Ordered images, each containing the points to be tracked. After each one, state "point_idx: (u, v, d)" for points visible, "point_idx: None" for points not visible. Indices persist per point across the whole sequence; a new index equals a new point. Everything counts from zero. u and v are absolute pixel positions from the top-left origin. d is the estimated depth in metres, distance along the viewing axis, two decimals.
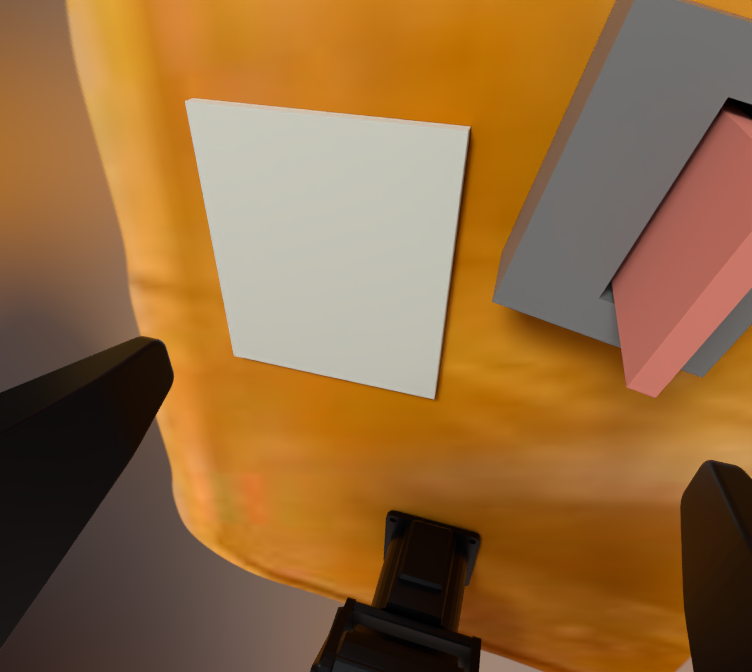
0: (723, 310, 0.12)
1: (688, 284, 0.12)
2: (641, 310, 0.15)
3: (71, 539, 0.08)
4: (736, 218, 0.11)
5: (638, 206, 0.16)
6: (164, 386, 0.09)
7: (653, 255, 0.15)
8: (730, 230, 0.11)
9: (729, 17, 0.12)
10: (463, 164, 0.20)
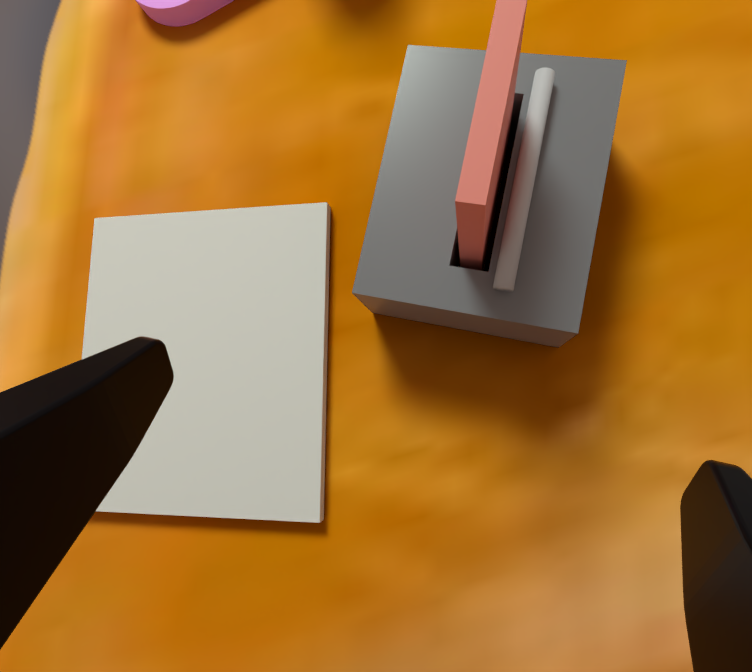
0: (500, 97, 0.14)
1: None
2: None
3: (71, 540, 0.08)
4: None
5: (454, 174, 0.19)
6: (164, 386, 0.09)
7: None
8: None
9: (465, 49, 0.19)
10: (326, 229, 0.23)
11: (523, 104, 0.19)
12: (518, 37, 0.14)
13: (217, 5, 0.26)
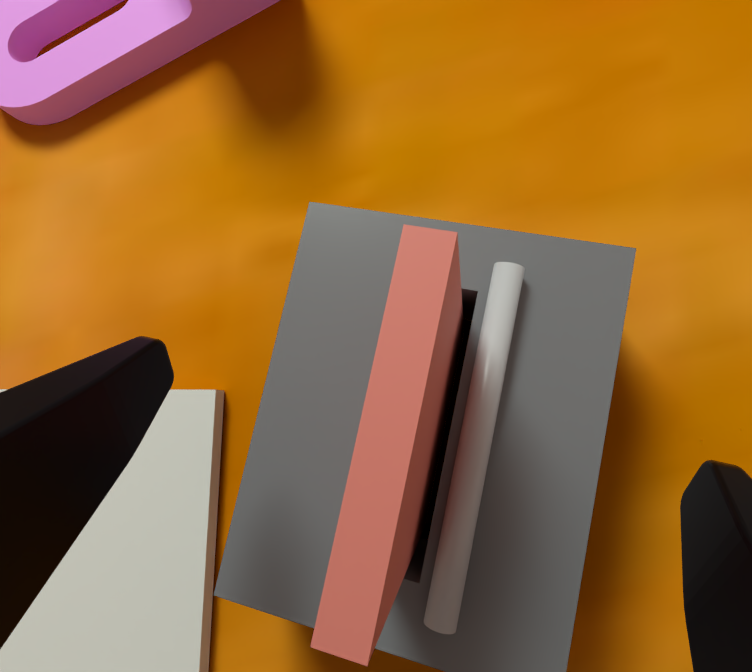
0: (403, 435, 0.07)
1: None
2: None
3: (71, 539, 0.08)
4: None
5: None
6: (164, 386, 0.09)
7: None
8: None
9: (393, 214, 0.13)
10: (213, 429, 0.16)
11: (477, 308, 0.12)
12: (439, 311, 0.07)
13: (90, 101, 0.20)
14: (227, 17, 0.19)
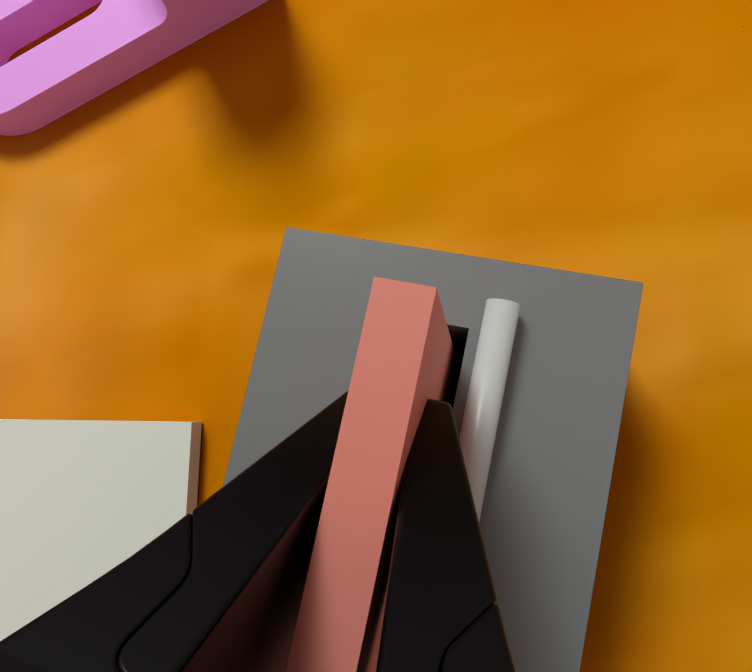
0: (370, 531, 0.06)
1: None
2: None
3: None
4: None
5: None
6: None
7: None
8: None
9: (376, 241, 0.12)
10: (188, 464, 0.15)
11: (468, 348, 0.11)
12: (415, 381, 0.06)
13: (62, 110, 0.19)
14: (206, 21, 0.18)
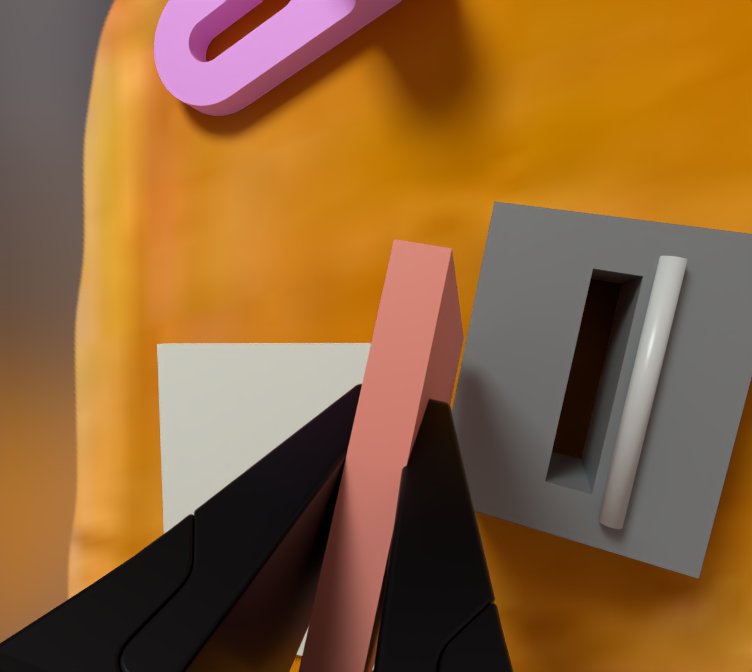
0: (392, 468, 0.07)
1: None
2: None
3: None
4: None
5: (551, 373, 0.16)
6: None
7: None
8: None
9: (568, 211, 0.16)
10: None
11: (642, 290, 0.15)
12: (432, 334, 0.07)
13: (262, 92, 0.23)
14: (383, 4, 0.21)
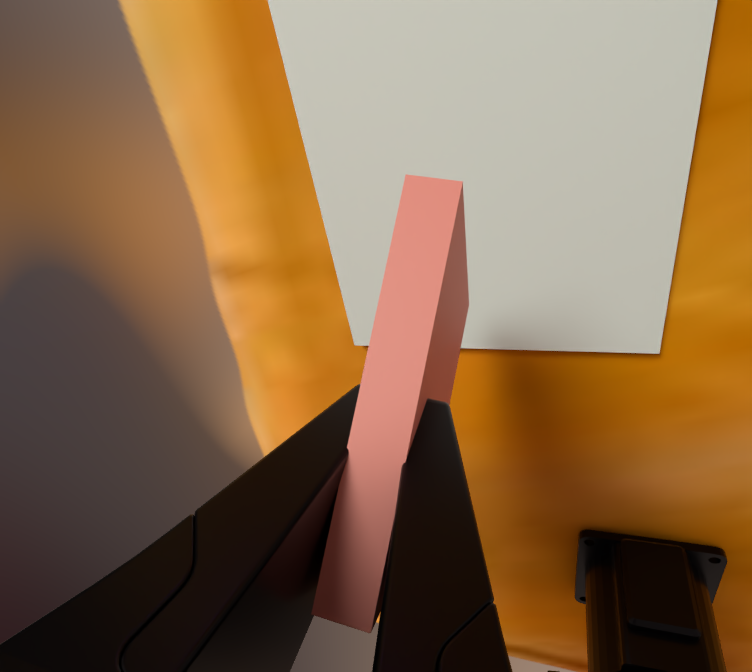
0: (406, 396, 0.07)
1: None
2: None
3: (311, 617, 0.07)
4: None
5: None
6: None
7: None
8: None
9: None
10: None
11: None
12: (444, 265, 0.07)
13: None
14: None
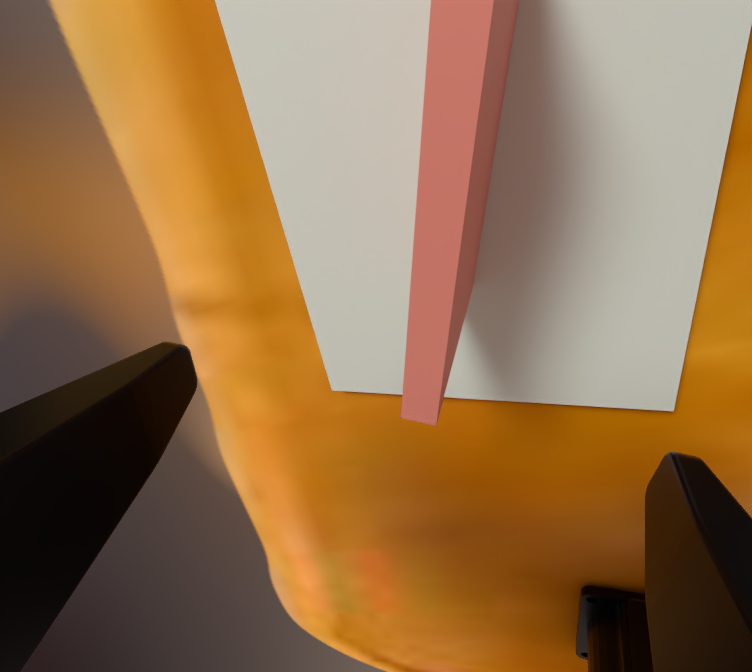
0: None
1: None
2: None
3: (98, 548, 0.08)
4: None
5: None
6: (188, 392, 0.09)
7: None
8: None
9: None
10: None
11: None
12: None
13: None
14: None
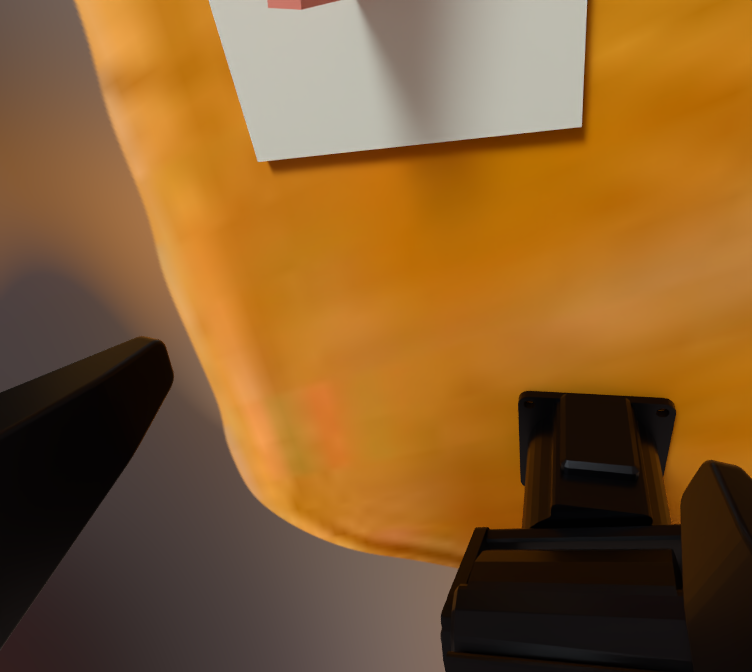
0: None
1: None
2: None
3: (71, 539, 0.08)
4: None
5: None
6: (164, 386, 0.09)
7: None
8: None
9: None
10: None
11: None
12: None
13: None
14: None
